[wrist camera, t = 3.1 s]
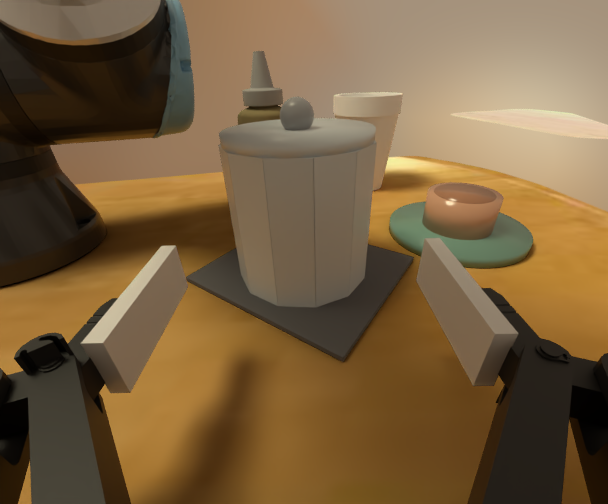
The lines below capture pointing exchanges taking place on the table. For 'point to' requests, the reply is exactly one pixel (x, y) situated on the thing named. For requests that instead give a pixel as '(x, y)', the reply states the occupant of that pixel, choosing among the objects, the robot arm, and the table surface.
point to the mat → (312, 320)
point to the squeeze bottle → (260, 94)
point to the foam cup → (373, 121)
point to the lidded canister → (300, 203)
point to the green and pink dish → (463, 226)
